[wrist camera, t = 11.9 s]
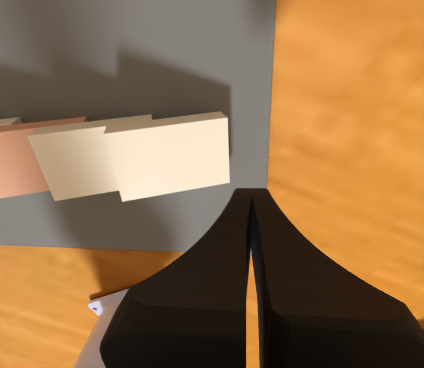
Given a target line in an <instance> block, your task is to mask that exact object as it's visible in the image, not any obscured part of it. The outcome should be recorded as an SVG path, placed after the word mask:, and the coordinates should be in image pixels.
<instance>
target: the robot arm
mask: <svg viewBox="0 0 424 368" xmlns="http://www.w3.org/2000/svg"><path fill="white" fill-rule="evenodd" d="M250 252H252V260H253V268H254V276H255V284H256V292H257V302H258V327H259V360H260V368H424V330H423V329H422V327H421V326H420V324H419V323H418V321H417V320H416V318H415V317H414V316H413V314H412V313H411V312H410V310H409V309H408V307H407V306H406V304H404V303H403V302H401V301H399V300H397V299H395V298H394V297H392V296H390V295H388V294H386V293H384V292H383V291H381V290H379V289H377V288H375V287H373V286H372V285H370V284H368V283H366V282H365V281H363V280H362V279H360V278H358V277H357V276H355V275H354V274H352V273H351V272H349V271H347V270H346V269H344V268H343V267H342V266H340V265H339V264H337V263H336V262H334V261H333V260H332V259H331V258H329V257H328V256H327V255H325V254H324V253H323V252H321V251H320V250H319V249H318V248H316V247H315V246H314V245H313V244H312V243H311V242H310V241H309V240H307V239H306V238H305V237H304V236H303V235H302V234H301V233H300V232H299V231H298V229H297V228H296V227H295V226H294V225H293V224H292V223H291V222H290V221H289V219H288V218H287V217H286V216H285V214H284V213H283V212H282V211H281V209H280V208H279V207H278V205H277V204H276V202H275V201H274V199H273V198H272V196H271V194H270V193H269V191H268V190H267V189H266V188H236V189H235V190H234V191H233V194H232V196H231V198H230V200H229V202H228V203H227V205H226V207H225V208H224V210H223V211H222V213H221V214H220V216H219V217H218V218H217V220H216V221H215V222H214V223H213V225H212V226H211V227H210V228H209V229H208V231H207V232H206V233H205V234H204V235H203V236H202V237H201V238H200V239H199V240H198V241H197V242H196V243H195V244H194V245H193V246H192V247H191V248H190V249H188V250H187V251H186V252H185V253H184V254H183V255H181V256H180V257H179V258H178V259H176V260H175V261H174V262H172V263H171V264H169V265H168V266H167V267H165V268H164V269H162V270H161V271H159V272H158V273H156V274H154V275H153V276H151V277H149V278H147V279H146V280H144V281H142V282H140V283H139V284H137V285H135V286H133V287H131V288H129V289H125V290H122V291H119V292H116V293H113V294H110V295H107V296H103V297H100V298H97V299H94V300H91V301H89V303H88V307H89V308H90V309H92V310H93V311H94V312H95V313H96V314H97V315H98V316H99V318H98V320H97V322H96V324H95V326H94V328H93V330H92V332H91V334H90V336H89V338H88V339H87V341H86V343H85V345H84V347H83V349H82V351H81V353H80V355H79V357H78V359H77V361H76V363H75V365H74V366H73V368H246V296H247V284H248V274H249V263H250Z"/></svg>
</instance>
